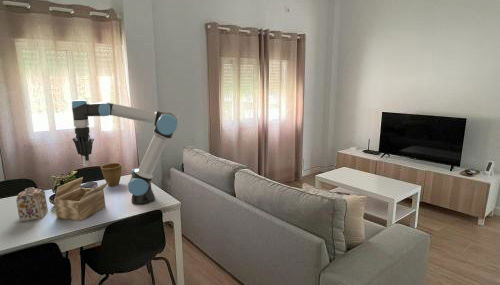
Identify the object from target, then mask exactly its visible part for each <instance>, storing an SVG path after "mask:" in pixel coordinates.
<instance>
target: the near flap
mask: <svg viewBox="0 0 500 285" xmlns="http://www.w3.org/2000/svg"><path fill="white" fill-rule="evenodd" d="M108 183H109V182H106V183H103V184H102V185H98V187H97V188H95V189H93V190H90V191H88V192H86V193H85V195H84V196H83V197H82V198H81V199H80V201H81V200H83V199H85V198H87V197H89V196H92V195H94V194H96V193H98V192H100V191H102V190H104V189H106V187H107V186H108Z"/></svg>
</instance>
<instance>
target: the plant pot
mask: <svg viewBox="0 0 500 285" xmlns="http://www.w3.org/2000/svg"><path fill="white" fill-rule="evenodd" d="M122 166H123V165H122V163H120V162H119V163H118V162H111V163H107V164H104V165H101V166H100V170H101V173H102V176H103V178H104V180H105V182H106V183H107V182H109V183H108V185H107V186H108V187H110V188H111V187H112V188H113V187H117V186H119V185H120V181H121V177H122Z"/></svg>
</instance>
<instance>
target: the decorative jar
mask: <svg viewBox="0 0 500 285" xmlns="http://www.w3.org/2000/svg"><path fill="white" fill-rule="evenodd" d="M45 192H46V191H44V190H42V189H40V188H35V187H33V186H32V187H28V188H27V187H26V188H25V189H24V190H23V191H21V192H19V193H18V194H17V197H16V200H15V201H16V208H17V213H18V217H19V218H18V219H19V222H24V221H25V222H26V221H33V220H42V219H43V217H44V216H45V215H46V214H47V213H48V212H49V208H48V203H47V197H46V193H45Z"/></svg>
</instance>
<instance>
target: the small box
mask: <svg viewBox="0 0 500 285" xmlns="http://www.w3.org/2000/svg"><path fill="white" fill-rule="evenodd" d="M97 187H99V185H98V182H97V181H88V182H86V183H84V184H81V186H80V188H90V189H95V188H97Z"/></svg>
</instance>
